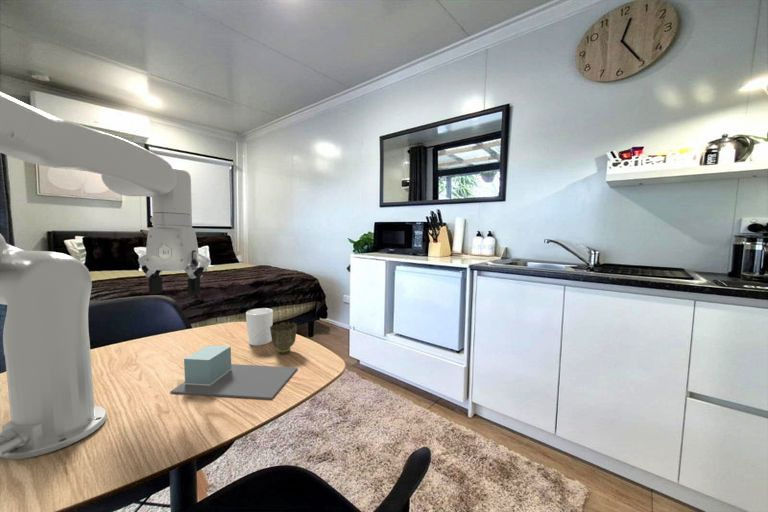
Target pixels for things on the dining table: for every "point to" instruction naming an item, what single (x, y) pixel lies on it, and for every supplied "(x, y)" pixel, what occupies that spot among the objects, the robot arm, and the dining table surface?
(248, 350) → the dining table surface
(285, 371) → the rubber mat
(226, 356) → the teal block
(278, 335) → the cup
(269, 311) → the white cup
